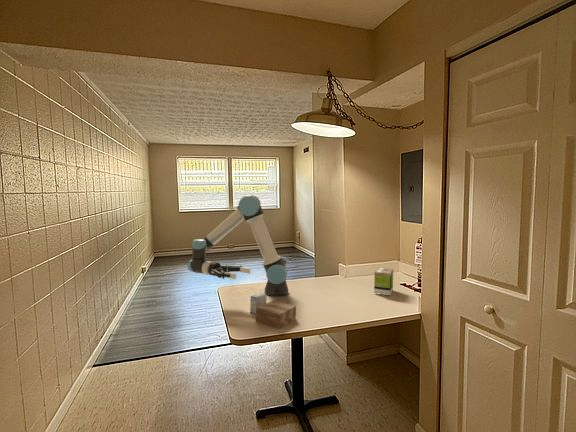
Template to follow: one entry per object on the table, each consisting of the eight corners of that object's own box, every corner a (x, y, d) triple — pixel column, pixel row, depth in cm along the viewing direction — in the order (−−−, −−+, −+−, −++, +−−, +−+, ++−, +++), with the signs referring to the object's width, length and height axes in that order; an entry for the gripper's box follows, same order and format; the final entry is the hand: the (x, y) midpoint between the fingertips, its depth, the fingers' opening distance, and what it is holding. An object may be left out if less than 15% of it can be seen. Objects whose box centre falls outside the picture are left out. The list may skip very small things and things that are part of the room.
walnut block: (272, 313, 163) (272, 300, 162) (295, 319, 155) (295, 306, 155) (255, 322, 151) (256, 308, 150) (279, 329, 143) (279, 314, 143)
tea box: (377, 288, 212) (378, 266, 211) (393, 290, 208) (394, 268, 207) (373, 294, 199) (374, 271, 198) (389, 296, 194) (390, 273, 193)
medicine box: (260, 308, 169) (260, 292, 169) (266, 310, 167) (266, 294, 166) (250, 312, 163) (250, 295, 163) (256, 314, 160) (256, 297, 160)
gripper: (225, 270, 189) (255, 275, 179) (196, 279, 166) (229, 286, 157) (225, 258, 188) (255, 262, 179) (196, 266, 166) (229, 271, 156)
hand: (243, 273), depth 168 cm, fingers open, 13 cm apart
